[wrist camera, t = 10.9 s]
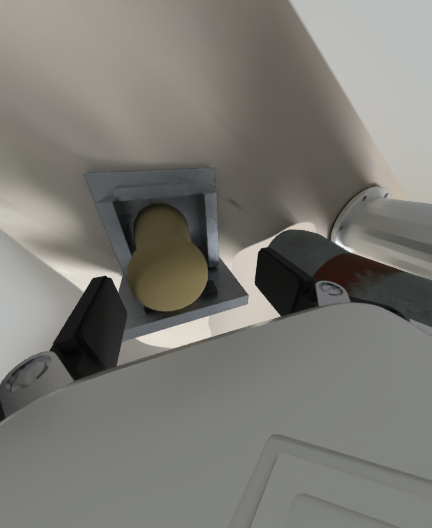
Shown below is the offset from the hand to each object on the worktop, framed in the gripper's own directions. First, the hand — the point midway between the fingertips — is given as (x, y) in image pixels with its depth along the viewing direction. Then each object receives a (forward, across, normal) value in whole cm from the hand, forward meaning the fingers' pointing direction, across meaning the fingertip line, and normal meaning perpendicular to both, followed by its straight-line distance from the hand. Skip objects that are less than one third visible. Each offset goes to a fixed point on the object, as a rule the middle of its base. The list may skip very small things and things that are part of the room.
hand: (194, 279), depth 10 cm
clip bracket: (+11, +1, 0) cm, 11 cm away
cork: (+10, +2, 0) cm, 11 cm away
